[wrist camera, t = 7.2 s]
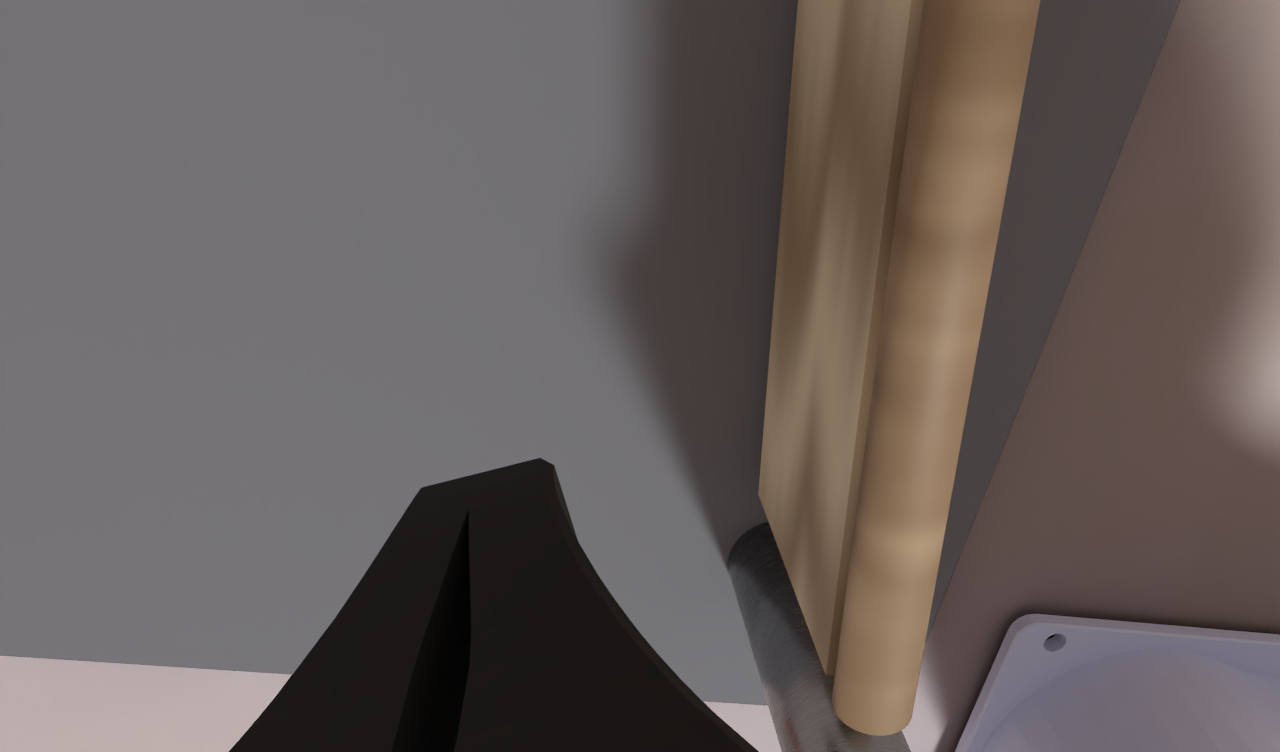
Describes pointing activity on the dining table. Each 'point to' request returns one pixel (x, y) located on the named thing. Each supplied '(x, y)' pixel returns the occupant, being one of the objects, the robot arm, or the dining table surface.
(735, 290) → the mat
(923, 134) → the gate
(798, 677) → the hinge post
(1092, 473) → the dining table surface
